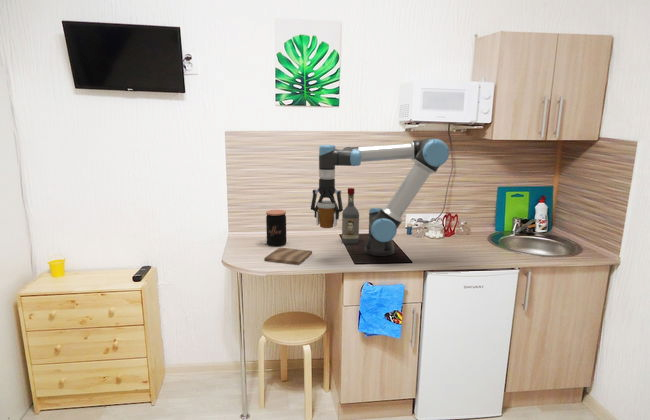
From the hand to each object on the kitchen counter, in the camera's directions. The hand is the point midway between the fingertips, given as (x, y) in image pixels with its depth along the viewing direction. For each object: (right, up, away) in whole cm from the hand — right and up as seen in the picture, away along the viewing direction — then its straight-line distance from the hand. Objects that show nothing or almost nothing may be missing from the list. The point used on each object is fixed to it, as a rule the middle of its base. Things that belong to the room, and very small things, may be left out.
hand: (326, 225), depth 210 cm
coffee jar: (-27, -11, +29) cm, 41 cm away
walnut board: (-19, -16, +7) cm, 26 cm away
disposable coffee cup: (0, -1, 0) cm, 1 cm away
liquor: (+13, -11, +33) cm, 38 cm away
